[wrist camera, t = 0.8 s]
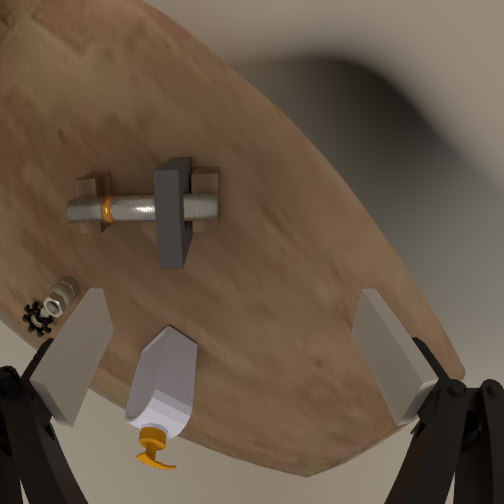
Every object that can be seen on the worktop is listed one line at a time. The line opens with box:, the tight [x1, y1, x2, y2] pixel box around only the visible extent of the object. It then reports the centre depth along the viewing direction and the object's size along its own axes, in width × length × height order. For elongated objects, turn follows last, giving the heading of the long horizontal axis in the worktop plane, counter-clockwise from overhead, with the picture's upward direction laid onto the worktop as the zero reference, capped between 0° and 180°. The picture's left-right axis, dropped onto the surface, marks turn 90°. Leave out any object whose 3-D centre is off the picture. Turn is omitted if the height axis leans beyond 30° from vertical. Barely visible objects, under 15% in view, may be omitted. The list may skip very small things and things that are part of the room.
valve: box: [22, 276, 78, 338], centre depth 40 cm, size 7×7×12 cm
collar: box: [153, 157, 193, 269], centre depth 32 cm, size 2×10×10 cm, turn 178°
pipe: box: [67, 194, 218, 223], centre depth 31 cm, size 18×3×3 cm, turn 88°
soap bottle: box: [125, 326, 197, 469], centre depth 38 cm, size 9×7×23 cm
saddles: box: [75, 167, 219, 233], centre depth 35 cm, size 18×7×5 cm, turn 88°
